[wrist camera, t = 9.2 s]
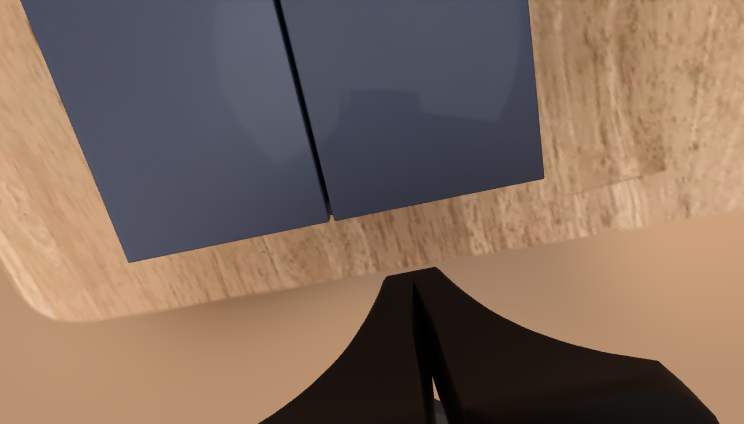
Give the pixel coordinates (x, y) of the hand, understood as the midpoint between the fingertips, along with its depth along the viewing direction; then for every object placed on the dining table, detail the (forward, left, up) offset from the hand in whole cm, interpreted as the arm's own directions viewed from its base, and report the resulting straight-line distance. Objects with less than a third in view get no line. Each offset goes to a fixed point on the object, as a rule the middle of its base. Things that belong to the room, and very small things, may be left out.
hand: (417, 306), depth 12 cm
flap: (+8, +5, -4) cm, 10 cm away
